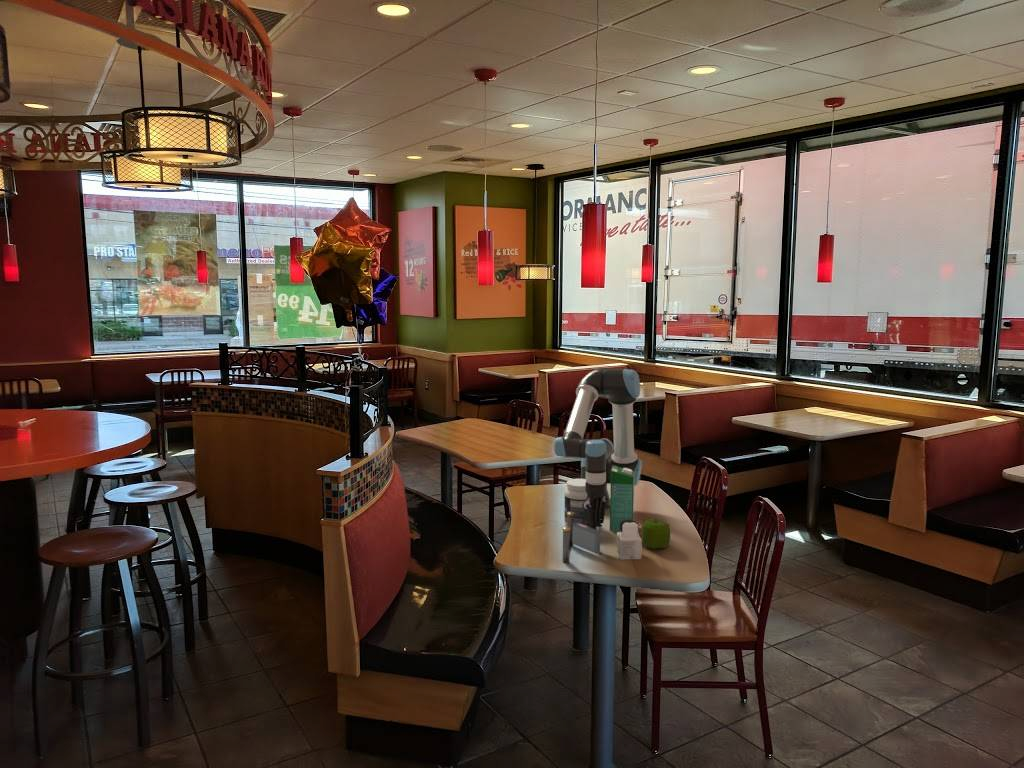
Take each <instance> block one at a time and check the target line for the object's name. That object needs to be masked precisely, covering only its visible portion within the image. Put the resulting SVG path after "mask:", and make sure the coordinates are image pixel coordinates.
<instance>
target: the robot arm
mask: <svg viewBox="0 0 1024 768" xmlns="http://www.w3.org/2000/svg"><path fill="white" fill-rule="evenodd" d="M575 394H576V395H575V396H576V398H575V401H574V403H573V405H572V410H571V412H570V414H569V419H568V421H567V423H566V427H565V430H564V434H563V436H558V437H556V438H555V439H554V443H553V452H554V454H555V456H557V457H562V458H572V459H581V461H580V479H586V483H585V491H586V493H587V501H586V503H583V504H582V506H583V508H584V512H585V518H586V524H587V526H589V527H591V528H593V529H596V530H599V531H600V529H601V528H602V527H603V524H604V521H605V516H606V511H607V508H610V493H609V490H608V485H611V469H612V465H614V466H617V467H620V468H628V469H631V470H632V471H634V472H635V476H634V487H636V486H637V485H638V484H639V481H640V477H641V473H642V469H643V468H642V467H643V462H642V460H641V459H639V458H638V454H637V452H635V442H634V441H635V438H634V437H635V436H634V403H635V402H637V398H639V397H640V394H641V381H640V375H639V374H638V372H637V371H636V370H634V369H628V368H604V367H603V368H602V367H601V368H595V369H593V370H592V371H589V372H588V373H587V374H585V376H583V377H582V379H581V380H580V381H579V383H578V384H577V386H576V389H575ZM601 396H603V397H608V403H610V404H611V405H612V428H613V429H612V432H613V442H612V441H611V440H610V439H608V438H606V437H605V438H599V439H589V438H588V439H586V438H584V435H585V432H586V429H587V426H588V422H589V420H590V416H591V413H592V411H593V407H594V404H595V402H596V401H597V400H598V398H599V397H601ZM600 527H601V528H600ZM600 532H601V531H600Z"/></svg>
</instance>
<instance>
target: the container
mask: <svg viewBox="0 0 1024 768" xmlns="http://www.w3.org/2000/svg"><path fill="white" fill-rule="evenodd" d="M639 526H640V525H639V523H638V521H636V520H635V519H633V520H624V521H622V522H621V523H620V531H616V553H617V556H618V558H619V560H620V561H621V560H622V561H623V560H641V559H642V546H643V544H642V536H640V534H639Z"/></svg>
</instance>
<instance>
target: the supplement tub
mask: <svg viewBox="0 0 1024 768" xmlns="http://www.w3.org/2000/svg"><path fill="white" fill-rule="evenodd" d="M585 483H586V479H581V478H572V479H568V480H567V482H566V488H565V491H564V518H563V519H564V521H563V523H564V525H565V526H567V512H574V522H577V523H579V524H582V525H585V526H587V524H586V518H585V512H584V508H583V506H582V504H583V503H586V501H587V493H586V491H585ZM587 527H589V526H587ZM590 528H591V527H590Z"/></svg>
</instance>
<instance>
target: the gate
mask: <svg viewBox="0 0 1024 768" xmlns="http://www.w3.org/2000/svg"><path fill="white" fill-rule="evenodd" d="M572 525H573V528H572V544H573V546H577V547H579V548H581V549H585V550H587V551H589V552H591V553H594V554H596V555H599V554H600V553H601V531H599V530H596V529H593V528H590V527H587V526H585V525H582V524H579V523H577V522H573V523H572Z"/></svg>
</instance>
